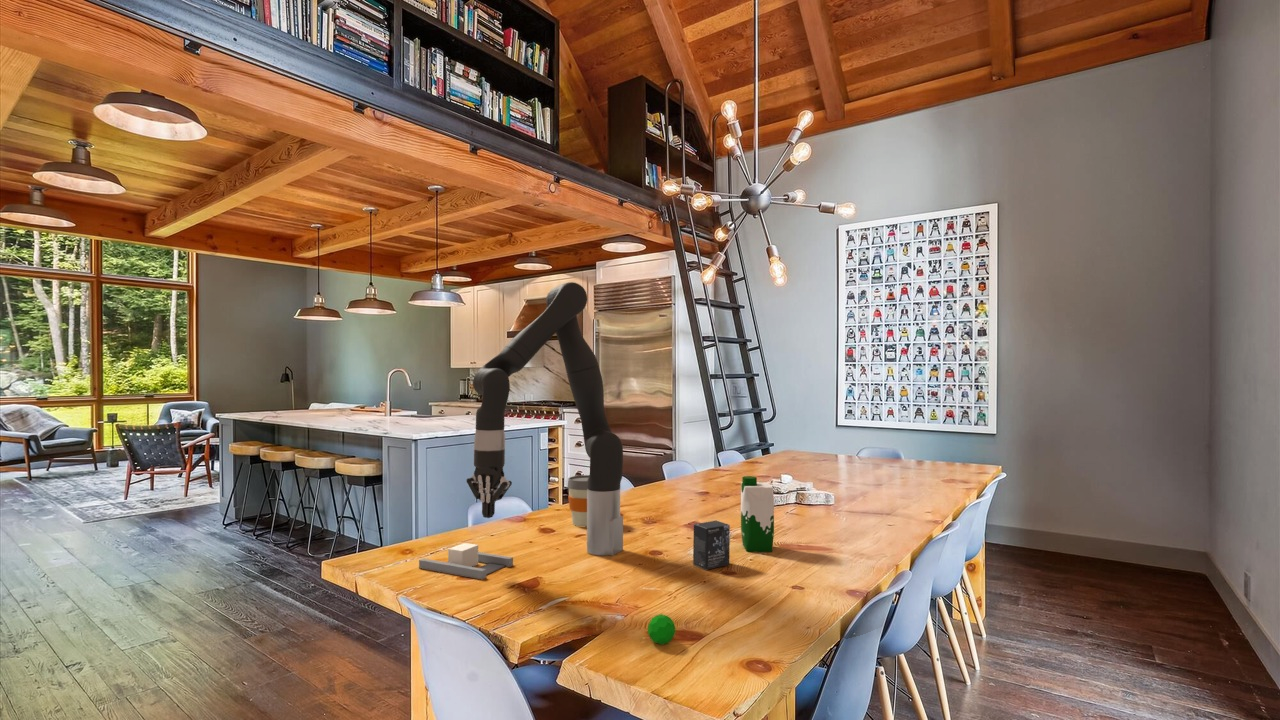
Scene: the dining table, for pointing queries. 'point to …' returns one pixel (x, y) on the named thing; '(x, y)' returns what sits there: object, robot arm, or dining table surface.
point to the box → (711, 545)
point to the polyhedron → (661, 629)
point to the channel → (479, 573)
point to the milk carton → (757, 515)
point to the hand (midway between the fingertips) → (488, 517)
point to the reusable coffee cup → (578, 499)
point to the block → (463, 554)
